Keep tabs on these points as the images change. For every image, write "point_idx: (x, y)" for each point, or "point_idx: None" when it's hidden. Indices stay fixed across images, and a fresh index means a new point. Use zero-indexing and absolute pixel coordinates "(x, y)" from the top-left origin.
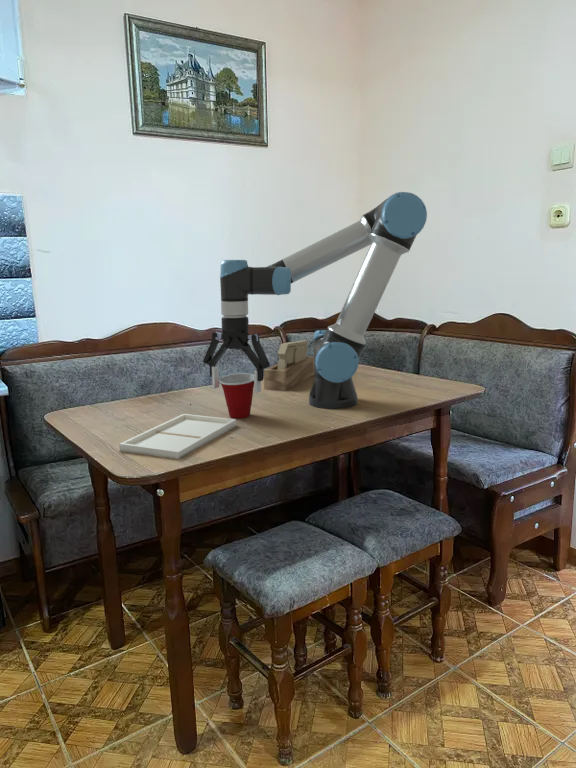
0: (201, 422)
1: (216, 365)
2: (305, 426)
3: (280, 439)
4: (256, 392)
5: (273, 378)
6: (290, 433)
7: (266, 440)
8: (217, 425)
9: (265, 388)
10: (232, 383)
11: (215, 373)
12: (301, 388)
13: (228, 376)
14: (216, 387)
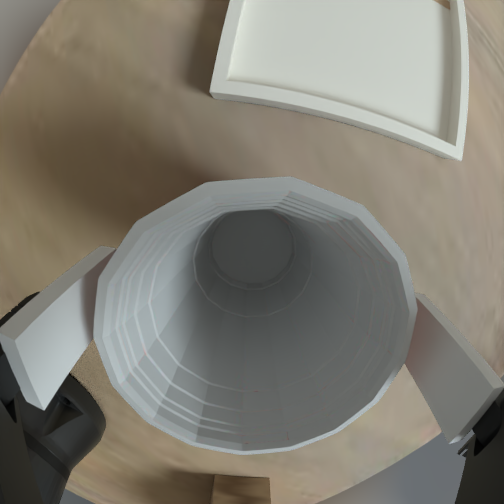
0: (372, 94)
1: (466, 429)
2: (8, 187)
3: (43, 42)
4: (100, 246)
5: (243, 501)
6: (25, 103)
7: (76, 15)
8: (288, 58)
9: (266, 480)
10: (251, 185)
11: (454, 366)
12: (186, 483)
13: (355, 404)
14: None
